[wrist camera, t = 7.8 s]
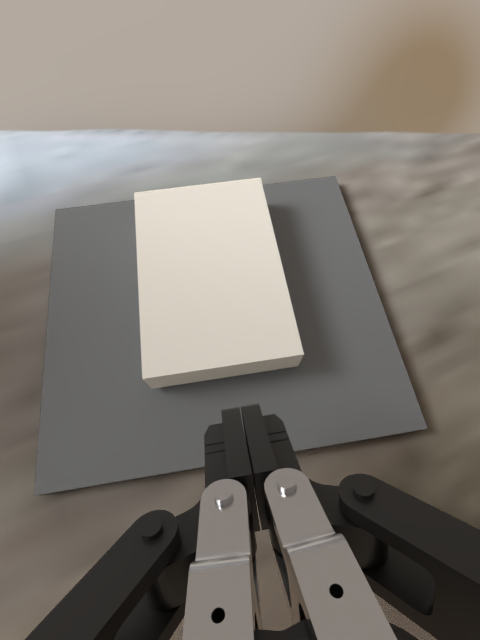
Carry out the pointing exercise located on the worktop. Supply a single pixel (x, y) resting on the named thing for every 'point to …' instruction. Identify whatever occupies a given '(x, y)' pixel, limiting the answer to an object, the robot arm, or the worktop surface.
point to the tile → (211, 285)
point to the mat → (212, 395)
